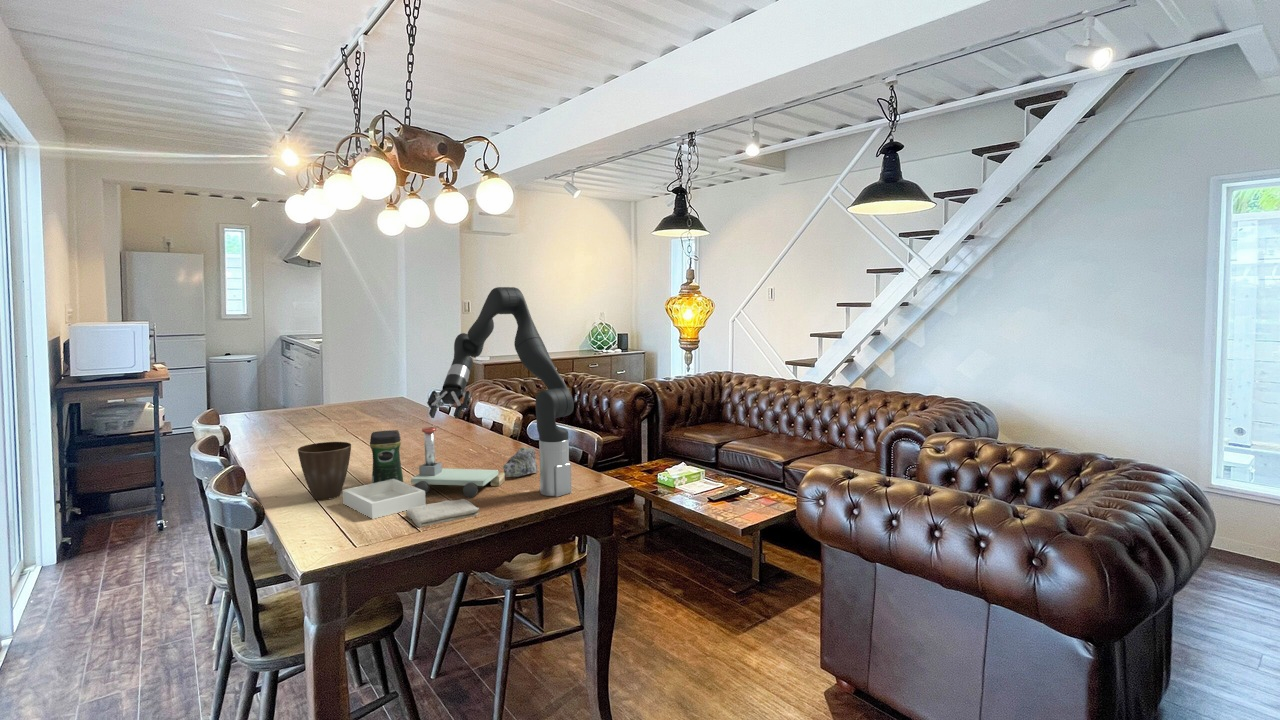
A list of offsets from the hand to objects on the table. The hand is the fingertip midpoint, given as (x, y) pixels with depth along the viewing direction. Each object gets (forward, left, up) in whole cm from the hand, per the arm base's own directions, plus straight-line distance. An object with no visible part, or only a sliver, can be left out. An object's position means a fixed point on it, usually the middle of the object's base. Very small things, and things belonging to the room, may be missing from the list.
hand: (443, 416), depth 209 cm
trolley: (-13, +4, -22) cm, 26 cm away
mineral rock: (-15, -20, -22) cm, 34 cm away
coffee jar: (+8, +17, -22) cm, 29 cm away
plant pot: (+11, +35, -22) cm, 43 cm away
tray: (-11, +27, -22) cm, 36 cm away
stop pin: (-6, +9, -17) cm, 20 cm away
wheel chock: (-18, -9, -22) cm, 30 cm away
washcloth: (-33, +20, -23) cm, 45 cm away
